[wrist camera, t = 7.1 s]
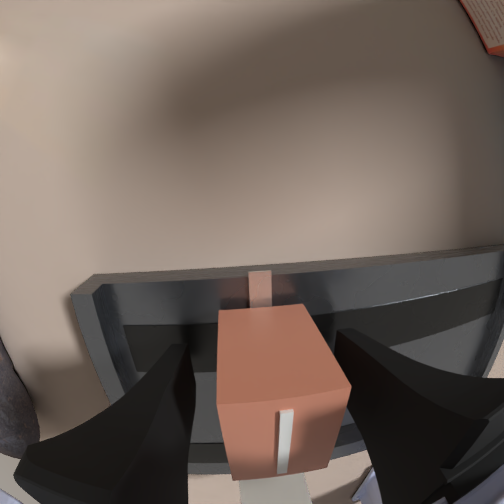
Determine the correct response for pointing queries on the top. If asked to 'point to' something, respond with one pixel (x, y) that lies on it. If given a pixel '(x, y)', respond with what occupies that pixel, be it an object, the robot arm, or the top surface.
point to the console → (319, 308)
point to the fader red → (277, 392)
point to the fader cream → (275, 490)
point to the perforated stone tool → (15, 412)
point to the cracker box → (488, 22)
